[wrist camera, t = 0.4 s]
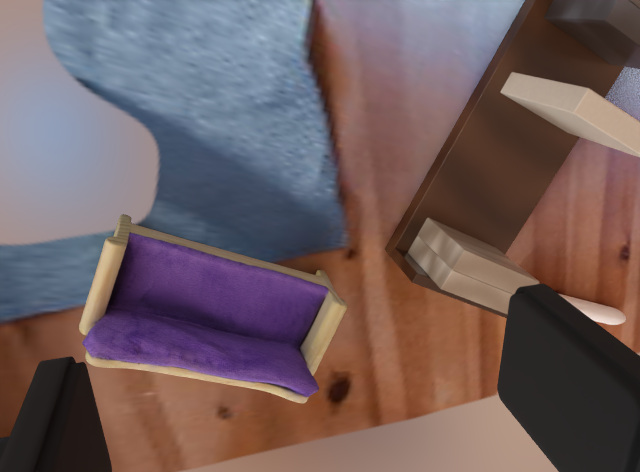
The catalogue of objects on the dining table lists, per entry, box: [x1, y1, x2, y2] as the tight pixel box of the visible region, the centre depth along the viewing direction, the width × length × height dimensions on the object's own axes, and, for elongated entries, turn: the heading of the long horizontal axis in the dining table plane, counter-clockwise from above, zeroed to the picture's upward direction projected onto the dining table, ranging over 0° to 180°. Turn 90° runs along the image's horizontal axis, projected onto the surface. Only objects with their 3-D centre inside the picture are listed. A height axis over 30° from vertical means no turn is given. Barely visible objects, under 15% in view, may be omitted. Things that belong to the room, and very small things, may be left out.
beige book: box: [501, 72, 640, 157], centre depth 44 cm, size 2×9×10 cm, turn 62°
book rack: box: [385, 0, 640, 318], centre depth 47 cm, size 32×12×9 cm, turn 153°
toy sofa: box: [79, 214, 348, 403], centre depth 45 cm, size 21×9×10 cm, turn 66°
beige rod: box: [559, 294, 626, 325], centre depth 60 cm, size 18×2×2 cm, turn 69°
